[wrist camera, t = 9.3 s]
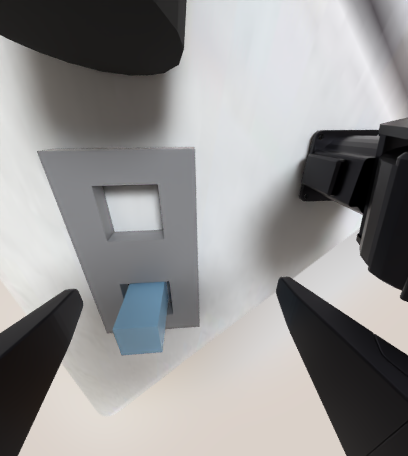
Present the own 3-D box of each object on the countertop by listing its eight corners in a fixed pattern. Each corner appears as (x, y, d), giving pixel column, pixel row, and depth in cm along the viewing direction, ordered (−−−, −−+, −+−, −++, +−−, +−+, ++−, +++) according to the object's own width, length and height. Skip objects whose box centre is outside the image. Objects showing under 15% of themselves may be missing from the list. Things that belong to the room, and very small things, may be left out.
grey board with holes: (194, 147, 17) (194, 149, 15) (198, 313, 27) (199, 326, 25) (53, 148, 16) (36, 151, 14) (112, 319, 26) (107, 333, 25)
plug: (165, 274, 23) (157, 326, 17) (169, 300, 26) (163, 355, 19) (132, 276, 23) (112, 329, 17) (138, 302, 25) (122, 358, 19)
